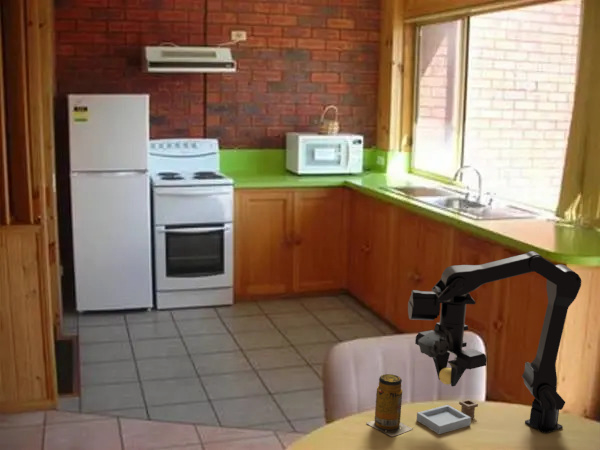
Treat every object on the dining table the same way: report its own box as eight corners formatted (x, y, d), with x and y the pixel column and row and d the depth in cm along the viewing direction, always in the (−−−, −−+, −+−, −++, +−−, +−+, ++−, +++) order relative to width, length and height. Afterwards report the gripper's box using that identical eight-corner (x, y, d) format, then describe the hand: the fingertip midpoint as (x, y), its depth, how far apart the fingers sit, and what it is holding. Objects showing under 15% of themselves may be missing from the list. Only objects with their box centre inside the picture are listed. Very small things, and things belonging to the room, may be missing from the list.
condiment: (387, 416, 182) (390, 370, 179) (413, 429, 175) (416, 381, 173) (365, 423, 177) (368, 376, 175) (391, 438, 171) (395, 389, 168)
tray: (447, 411, 185) (447, 404, 185) (470, 425, 179) (470, 417, 178) (416, 420, 180) (417, 412, 180) (439, 434, 173) (439, 426, 173)
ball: (447, 379, 180) (448, 363, 179) (458, 385, 177) (460, 369, 176) (434, 382, 178) (436, 366, 177) (446, 388, 175) (447, 372, 174)
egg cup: (467, 410, 186) (468, 398, 186) (476, 416, 184) (478, 403, 183) (458, 413, 185) (459, 401, 184) (467, 418, 182) (468, 406, 181)
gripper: (400, 313, 178) (395, 374, 181) (454, 338, 162) (448, 404, 165) (435, 307, 184) (430, 367, 187) (491, 330, 168) (484, 395, 171)
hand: (446, 382), depth 177 cm, fingers closed on ball, 4 cm apart
